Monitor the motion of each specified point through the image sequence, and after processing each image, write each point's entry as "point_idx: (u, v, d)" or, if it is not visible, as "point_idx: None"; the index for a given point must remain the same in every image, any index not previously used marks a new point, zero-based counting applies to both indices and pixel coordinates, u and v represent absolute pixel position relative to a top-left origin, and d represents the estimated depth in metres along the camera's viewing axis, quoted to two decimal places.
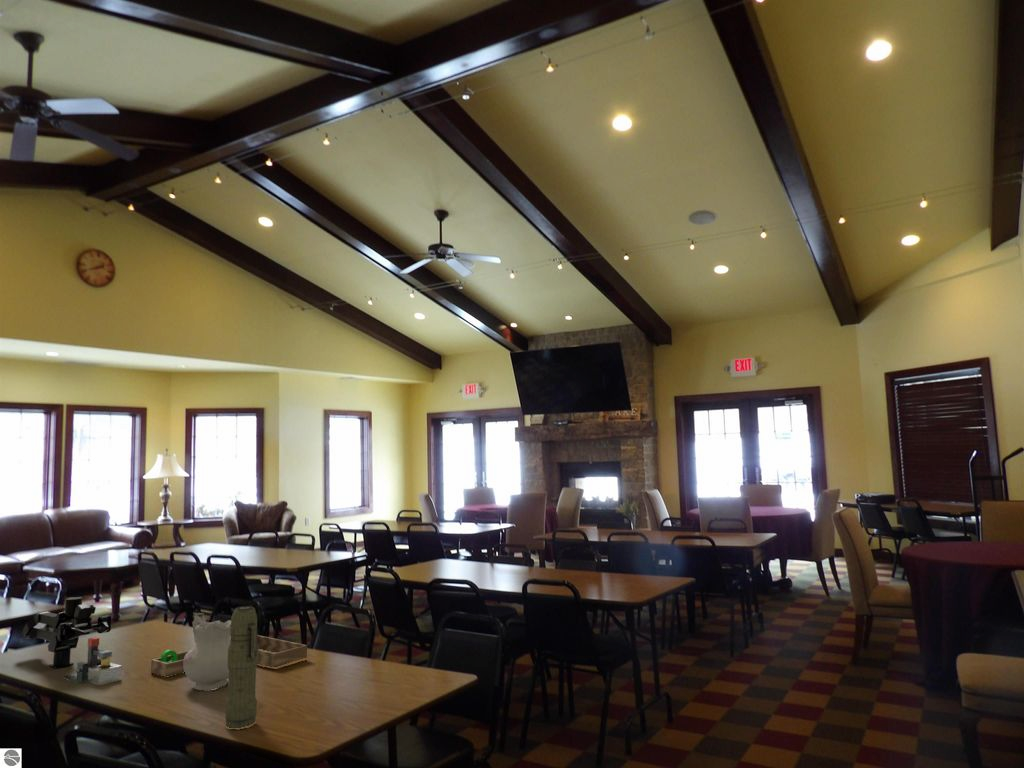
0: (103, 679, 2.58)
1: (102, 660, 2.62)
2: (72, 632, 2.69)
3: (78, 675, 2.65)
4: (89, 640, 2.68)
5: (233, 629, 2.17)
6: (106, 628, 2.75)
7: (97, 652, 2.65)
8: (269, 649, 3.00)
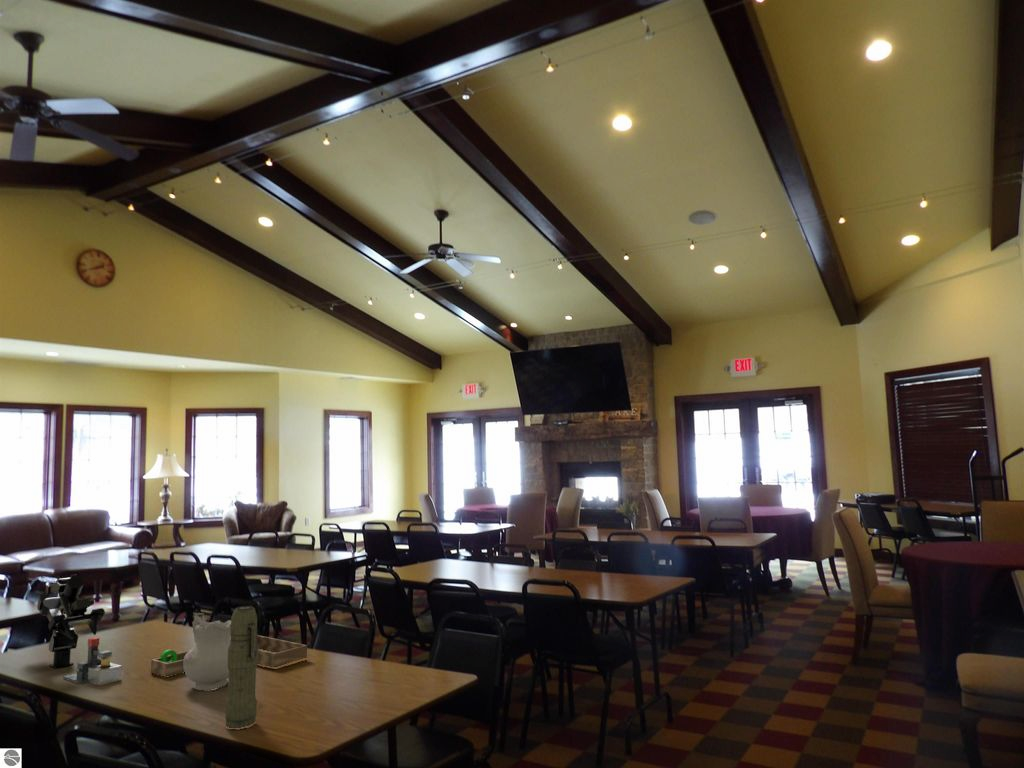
0: (103, 679, 2.58)
1: (102, 660, 2.62)
2: (64, 627, 2.72)
3: (78, 675, 2.65)
4: (89, 640, 2.68)
5: (233, 629, 2.17)
6: (94, 632, 2.77)
7: (97, 652, 2.65)
8: (269, 649, 3.00)
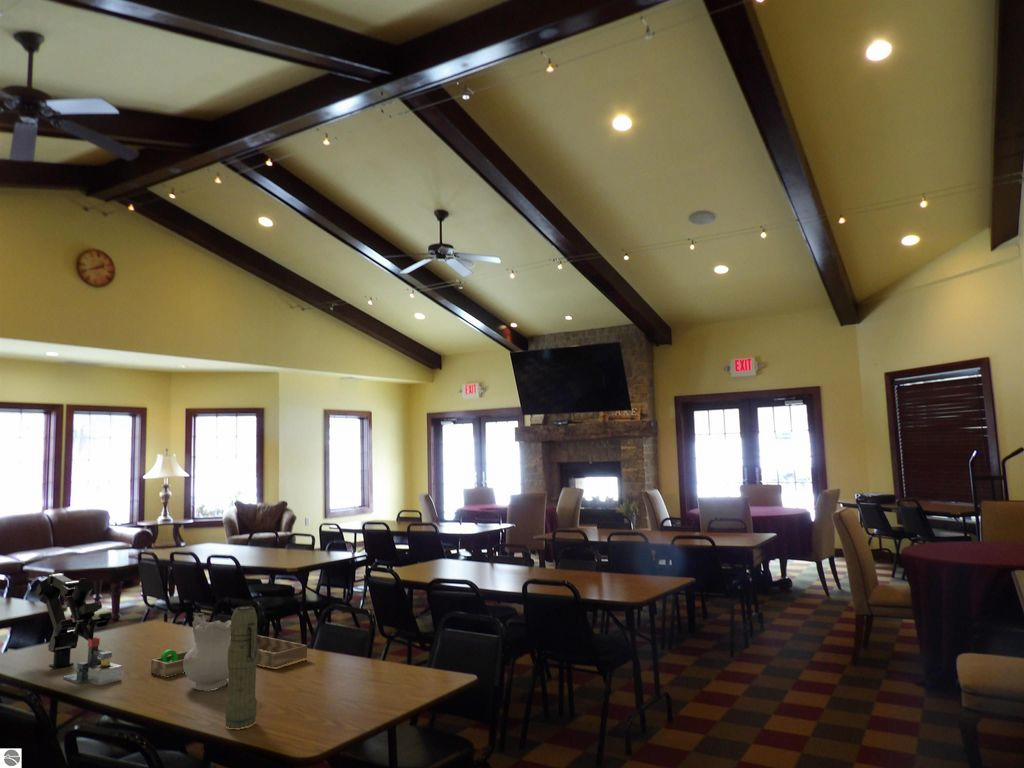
0: (103, 679, 2.58)
1: (102, 660, 2.62)
2: (82, 630, 2.72)
3: (78, 675, 2.65)
4: (89, 640, 2.68)
5: (233, 629, 2.17)
6: None
7: (97, 652, 2.65)
8: (269, 649, 3.00)
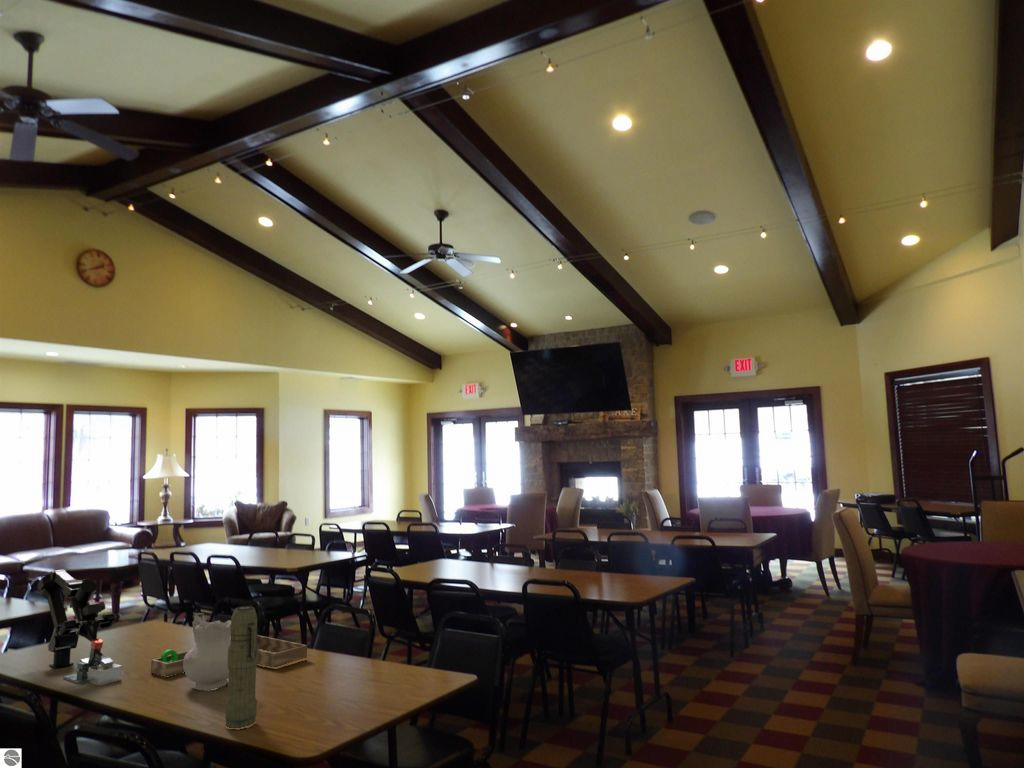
0: (103, 679, 2.58)
1: (102, 668, 2.62)
2: (86, 631, 2.70)
3: (78, 675, 2.65)
4: (93, 642, 2.67)
5: (233, 629, 2.17)
6: None
7: (99, 657, 2.64)
8: (269, 649, 3.00)
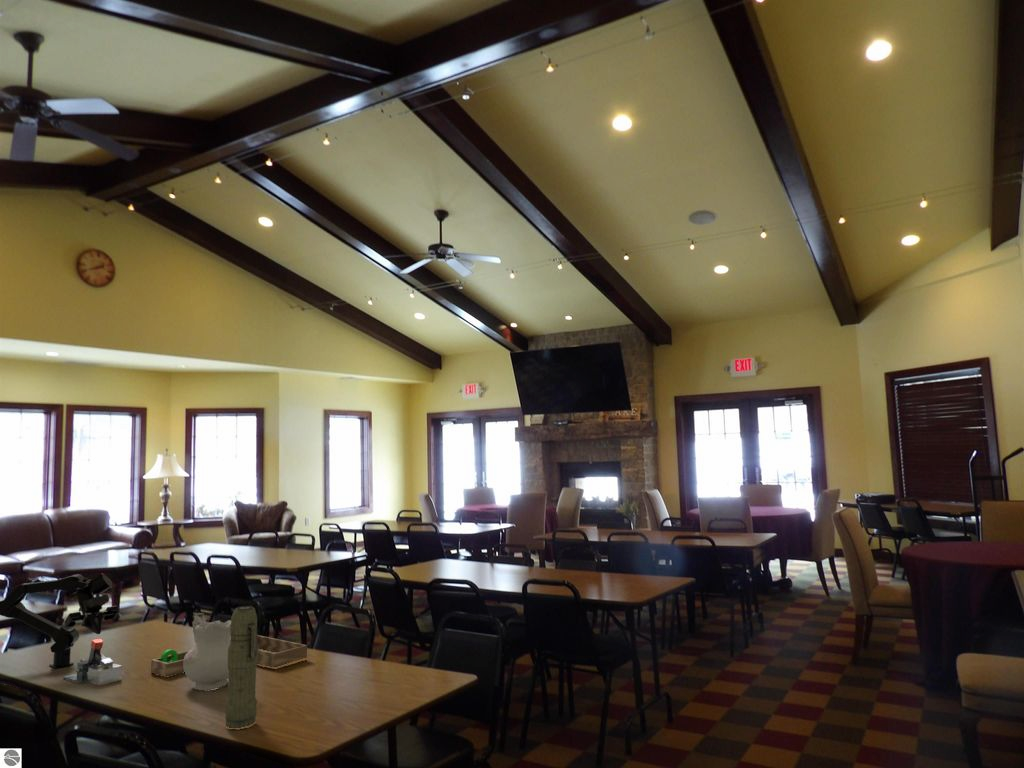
0: (103, 679, 2.58)
1: (102, 668, 2.62)
2: (90, 623, 2.80)
3: (78, 675, 2.65)
4: (93, 642, 2.67)
5: (233, 629, 2.17)
6: None
7: (99, 657, 2.64)
8: (269, 649, 3.00)
